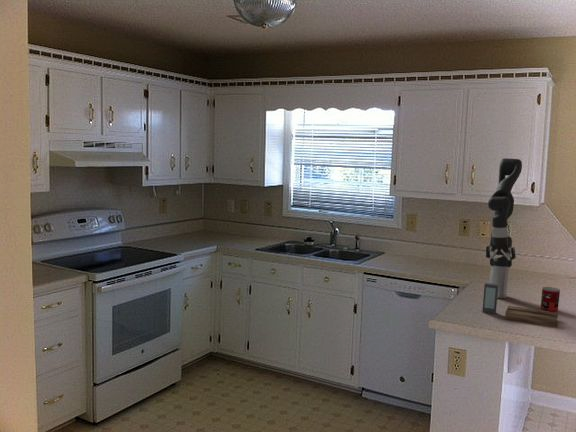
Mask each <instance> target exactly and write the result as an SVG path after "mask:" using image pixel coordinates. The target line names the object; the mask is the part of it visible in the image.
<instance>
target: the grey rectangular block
mask: <svg viewBox="0 0 576 432" xmlns="http://www.w3.org/2000/svg"><path fill="white" fill-rule="evenodd" d="M497 296H498V284H491V283H490V282H485V283H484V287H483V300H482V309H481V310H482V313H486V314H492V315H496V314H497V306H498V298H497Z"/></svg>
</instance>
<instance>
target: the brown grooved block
mask: <svg viewBox="0 0 576 432" xmlns="http://www.w3.org/2000/svg"><path fill="white" fill-rule="evenodd" d="M558 316H559V313H558V312H549V311H544V310H542V309H541V310H540V309H533V308H527V307H520V306H514V305H508V306H507V308H506V310H505V316H504V320H508V321H514V322H522V323H527V324H534V325H540V326H547V327H554V328H557V327H558V319H559V318H558Z"/></svg>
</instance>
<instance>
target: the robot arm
mask: <svg viewBox="0 0 576 432" xmlns="http://www.w3.org/2000/svg"><path fill="white" fill-rule="evenodd" d="M498 169H499V170H498V182H497V183H498V184H497V188H496V190H495V191H494V193H493V194H492V195H491V196H490V198H489V199H488V202H487V207H488V208H489V210H491V211H494V215H493V216H492V217H491V218H492V222H491V223H492V230H491V234H490V235H491V236H490V242H489V245H487V246H486V248H485V258H488V259H489V265H490V276H489V283H491V284H498V296H497V299H507V295H508V283H509V274H510V268H511V267H512V266H513V260H515V259H516V248H515V246H513V245H512V244H513V239H512V237H511V236H509V231H508V230H509V229H508V219H510V218H511V216H512V214H513V212H514V207H515V199H514V196H513V194H512V189H513V187H514V185H515V183H516V182H517V180H518V179H519V177H520V175H521V173H522V169H523V162H522V160H521V159H519V158H505V157H504V158H501V160H500V163H499V168H498ZM491 252H492V254H491ZM495 256H500V257H495Z"/></svg>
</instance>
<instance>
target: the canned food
mask: <svg viewBox="0 0 576 432" xmlns="http://www.w3.org/2000/svg"><path fill="white" fill-rule="evenodd" d="M560 292H561V290H560V288H557V287H552V286H543V287H542V290H541V301H540V309H541V310H542V311H549V312H555V313H558V310H559V303H560V296H561V295H560Z"/></svg>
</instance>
